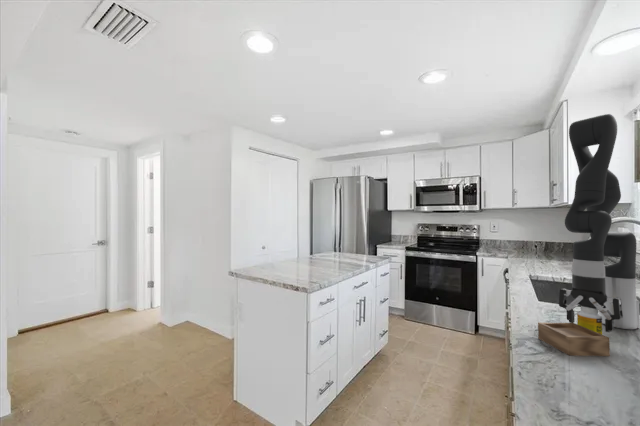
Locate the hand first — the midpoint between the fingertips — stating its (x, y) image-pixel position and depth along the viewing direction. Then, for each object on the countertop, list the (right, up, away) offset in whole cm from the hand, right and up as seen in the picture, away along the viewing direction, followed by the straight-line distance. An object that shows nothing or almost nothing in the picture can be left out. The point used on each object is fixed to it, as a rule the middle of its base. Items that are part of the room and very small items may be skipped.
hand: (589, 326), depth 86 cm
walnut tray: (-10, -4, -5) cm, 12 cm away
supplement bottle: (0, -4, 0) cm, 4 cm away
